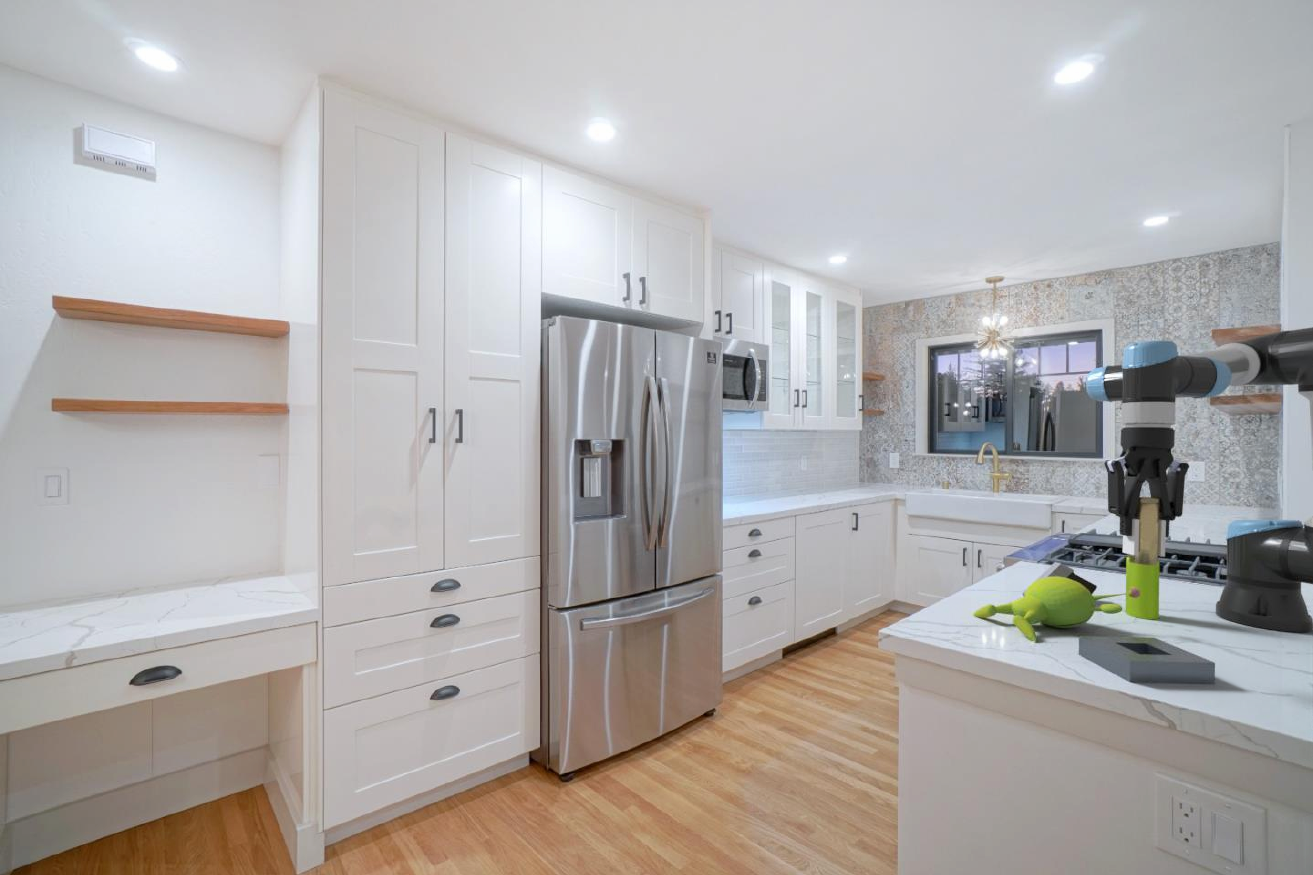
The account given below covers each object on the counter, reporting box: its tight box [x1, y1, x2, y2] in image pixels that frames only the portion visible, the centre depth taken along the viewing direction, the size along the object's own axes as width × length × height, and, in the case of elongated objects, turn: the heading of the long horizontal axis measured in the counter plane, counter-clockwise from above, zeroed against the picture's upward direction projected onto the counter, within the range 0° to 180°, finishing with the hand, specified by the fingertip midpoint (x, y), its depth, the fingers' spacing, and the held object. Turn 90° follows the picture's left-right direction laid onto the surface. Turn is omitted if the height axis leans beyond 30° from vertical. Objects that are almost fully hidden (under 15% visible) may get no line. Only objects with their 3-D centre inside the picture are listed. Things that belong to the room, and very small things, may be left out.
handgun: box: [1021, 561, 1098, 597], centre depth 145 cm, size 4×15×12 cm
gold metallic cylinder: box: [1128, 496, 1160, 565], centre depth 105 cm, size 4×4×12 cm
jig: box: [1078, 635, 1216, 685], centre depth 102 cm, size 14×12×4 cm
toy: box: [972, 576, 1140, 643], centre depth 126 cm, size 20×10×30 cm
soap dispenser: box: [1125, 556, 1161, 620], centre depth 134 cm, size 6×7×20 cm
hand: (1143, 554), depth 105 cm, fingers closed on gold metallic cylinder, 4 cm apart
